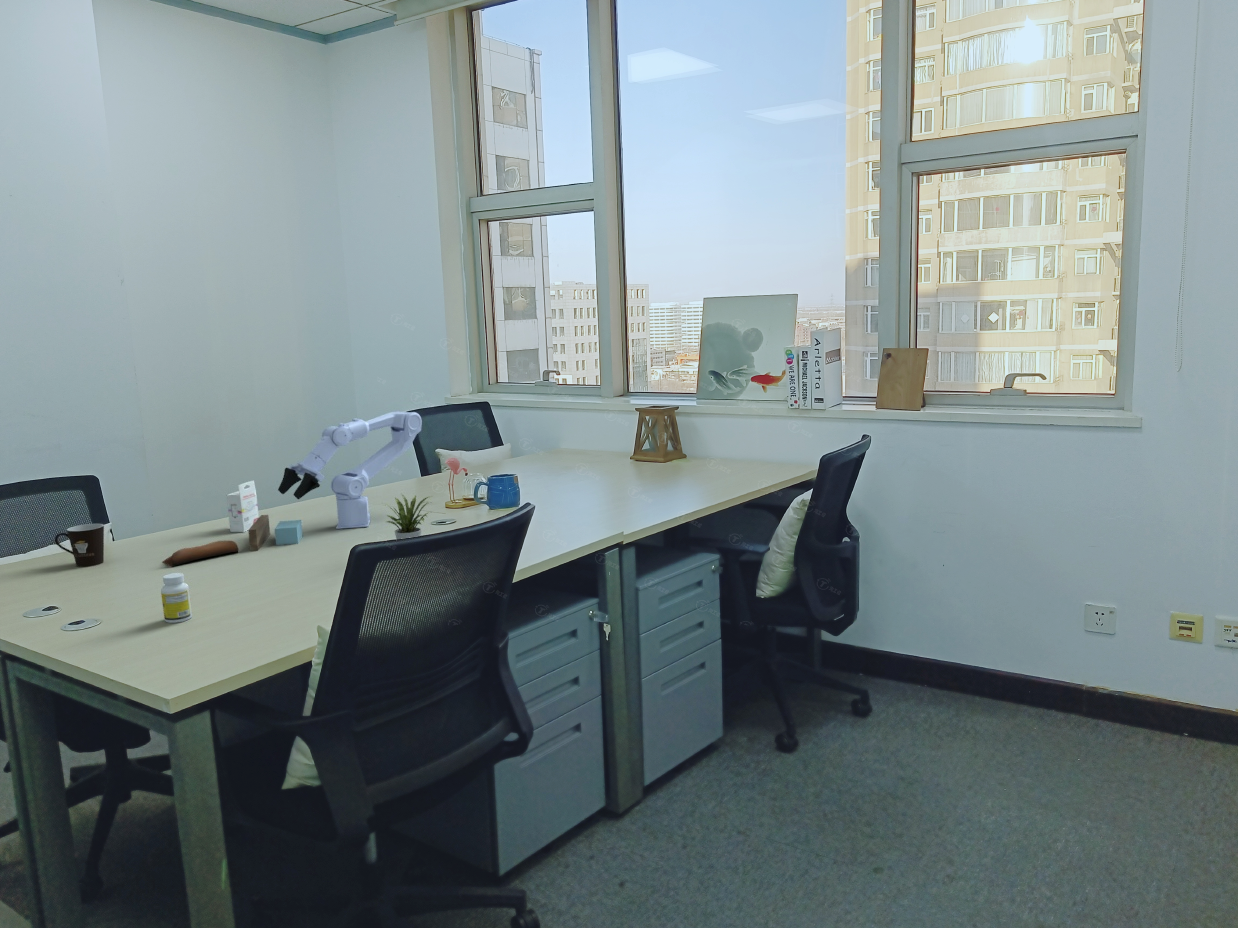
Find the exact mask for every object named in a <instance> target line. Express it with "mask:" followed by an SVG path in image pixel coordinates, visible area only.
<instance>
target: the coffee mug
mask: <svg viewBox="0 0 1238 928" xmlns="http://www.w3.org/2000/svg"><path fill="white" fill-rule="evenodd" d="M66 531H67V533H66V532H61V533H58V534H56V535H55V537H54V543H55V544H56V545H57V547H59V548H61V550H63V551H66V552H68V553H70V554H71V555H73V558H74V561H75V565H76V567H80V568H88V567H93V566H99V565H101V564H104V557H105V555H104V551H105V549H104V548H105V547H104V546H105V543H104V541H105V539H104V537H105V525H104V524H103V523H88V524H86V523H85V524H80V525H75V526H72V527H71V526H70V527H69V528H67V529H66ZM60 536H65V537H66V538H68V540H69V542H70V547H71V550H70V549H68V548H66V547H64V546H62V544H61V543H59V541H58V539H59V537H60Z"/></svg>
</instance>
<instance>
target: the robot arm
mask: <svg viewBox="0 0 1238 928" xmlns="http://www.w3.org/2000/svg"><path fill="white" fill-rule="evenodd" d="M422 423H423V420H422V417H421V415H420V414H419V413H418V412H415V411H413V412H412V411H411V412H408V411H401V410H396V411H392V412H391V411H390V412H387V413H385V414H382V415H379V416H377V417H374V418H371V419H369V420H368V419H367V420H363V419H361V418H360V419H359V418H356V417H355V418H352V421H349V422H346V423H344V422H340V423H339V424H338V426H333V425H331V426H328V427H326V428H323V430H322V432H321V438H320V439H319V441H318V442H317V443H316V444H315V446H314V447H313V448H312V449H311V450H310V451H309V452H308V454H307V455H306V457H305V458H304V459H303V460H302V461H298V462H297V463H296V464H293V463H292V464H290V465H289V466H288V467H285V468H284V473H283V477H282V480H281V482H280V484H279V487H278V489H277V491H278V492H279V493H280V494H282V495H284V494H286V493H287V492H288V491H289V490H290V489H291V488H292V487H293V486H294V485H295V484H297V483H300V484H299V485H298V486H297V488H296V489H295V490H294V492H293V497H295V499H297V500H300V499H301V498H303V497H304V496H305V495H306V494H308V493H310V492H311V491H313V490H315V489H318V488H320V487H321V484H320V483H321V482H322V481H323V480H324V479H325V475H323V474H322V472H321V471H322V469H323V468H325V466H326V465H327V464H328V462H329V461H330V460H331V459H332V458H333V456H335V454H336V452H337V451H338V450H339V448H340V447H344V446H345V447H346V446H347V445H348V444H349V442H350V443H351V442H354V441H356V440H359V439H363V438H365V437H367V436H368V434H369V432H373V431H376V430H379V429H384V428H387V427H390V434H391V439H392V440H391V441H389V442H388V443H387V444H385V445H383V447H381V448H380V449H379V450H377V451H376V452H375V453H373V454H372V455H371V456H370V457H367V459H366V460H364V461H363V462H362V463H360V464H359V465H358V466H357V467H355V468H352V469H349V470H347V471H344V473H341V474H340V473H338V474H337V475H335V476H334V477H333V478H332V479H331V482H330V488H331V491H332V492H333V493H335V498H336V510H337V511H336V512H337V525H336V527H335V529H336V530H338V529H355V528H367V527H369V525H370V521H371V515H370V508H369V507H370V506H369V498H368V496H362V495H363V493H364V491H365V490H366V488H367V487H369V485H370V483H369V480H371V479H372V478H373V477H375V476H376V475H377V474H378V473H379V472H381V471H383V470H384V469H385V468H386V467H387V466H388V465H390V464H392V463H393V462H394V461H395V460H396V459H398V458H399V457H401V455H402V454H404V453H405V452H407V450H409V449H410V447H411V445H412V444H413V442H414V441H415V438H416V437H417V434H419V433H420V432H422V426H423V425H422ZM300 476H303V477H302V478H301V477H300ZM319 482H320V483H319Z"/></svg>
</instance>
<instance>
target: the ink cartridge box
mask: <svg viewBox="0 0 1238 928" xmlns="http://www.w3.org/2000/svg"><path fill="white" fill-rule="evenodd" d="M248 486H249V487H248ZM245 487H247V488H245ZM237 488H238V491H234V492H231V493H229V494H226V496H225V498H226V504H227V511H228V521H229V522H228V523H229V530H230V533H246V532H248V531H247V530H249V529H250V528H251V526H252V525H253V524H254V523H255V522H256V521H257V519H258V518H259V517H260V516H259V507H258V497H257V489H256V484H255V480H249V481H247V482H243V483H241V484H238V485H237ZM245 531H246V532H245Z"/></svg>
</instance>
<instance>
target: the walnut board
mask: <svg viewBox="0 0 1238 928" xmlns="http://www.w3.org/2000/svg"><path fill="white" fill-rule="evenodd" d="M247 532H248V541H249V551H250V552H255V551H259V550H260V549H261V547H262V546H263V545H264V543H265V542H266V540H267V539H268V538H269V536H270V535H271V530H270V517H269V514H261V515H260V516H259V518H258V519H257V521H256V522H255V523H254V524H253V525H252V526H251V528H250V529H249V530H248V531H247Z"/></svg>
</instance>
